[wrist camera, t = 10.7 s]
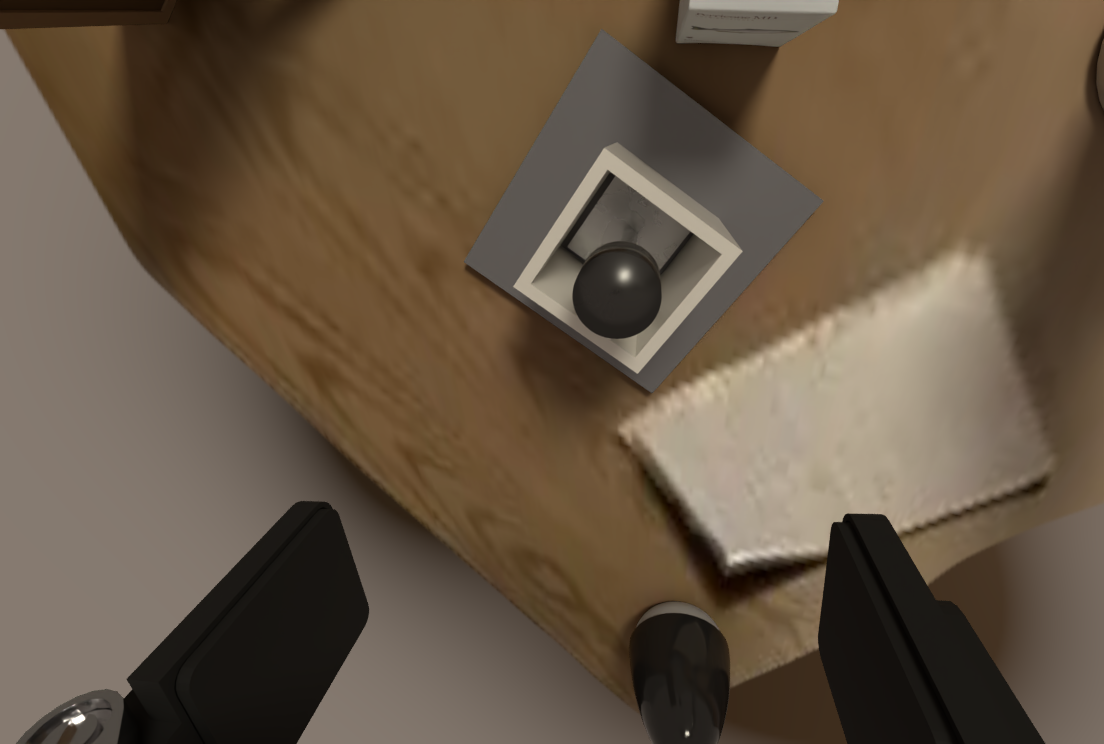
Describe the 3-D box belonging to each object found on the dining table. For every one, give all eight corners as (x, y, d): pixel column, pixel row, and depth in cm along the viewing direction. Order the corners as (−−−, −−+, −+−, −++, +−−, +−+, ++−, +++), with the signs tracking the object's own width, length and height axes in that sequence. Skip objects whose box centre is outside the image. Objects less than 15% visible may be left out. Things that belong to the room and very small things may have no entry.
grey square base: (818, 199, 40) (888, 228, 29) (651, 387, 49) (651, 470, 37) (602, 31, 38) (580, -12, 27) (468, 258, 47) (405, 303, 35)
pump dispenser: (680, 666, 63) (688, 816, 49) (612, 617, 62) (600, 757, 48) (746, 624, 59) (774, 775, 45) (674, 570, 57) (681, 709, 44)
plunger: (694, 223, 41) (720, 282, 26) (638, 294, 44) (630, 386, 29) (620, 168, 40) (600, 194, 25) (568, 244, 43) (521, 311, 28)
